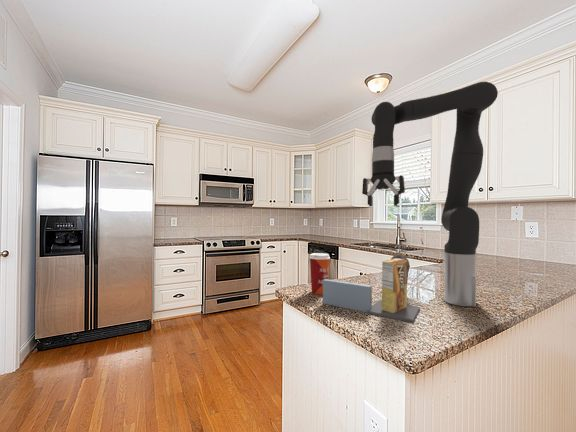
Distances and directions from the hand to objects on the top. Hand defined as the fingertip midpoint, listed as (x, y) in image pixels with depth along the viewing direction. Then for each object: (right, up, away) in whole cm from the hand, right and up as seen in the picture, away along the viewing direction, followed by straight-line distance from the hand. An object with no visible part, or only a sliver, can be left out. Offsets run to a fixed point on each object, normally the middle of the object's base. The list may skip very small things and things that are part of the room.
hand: (382, 206), depth 98 cm
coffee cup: (-22, -34, +9) cm, 41 cm away
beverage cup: (+7, -34, +4) cm, 35 cm away
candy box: (-1, -33, -12) cm, 35 cm away
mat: (-1, -34, -12) cm, 36 cm away
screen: (-15, -34, -8) cm, 38 cm away
